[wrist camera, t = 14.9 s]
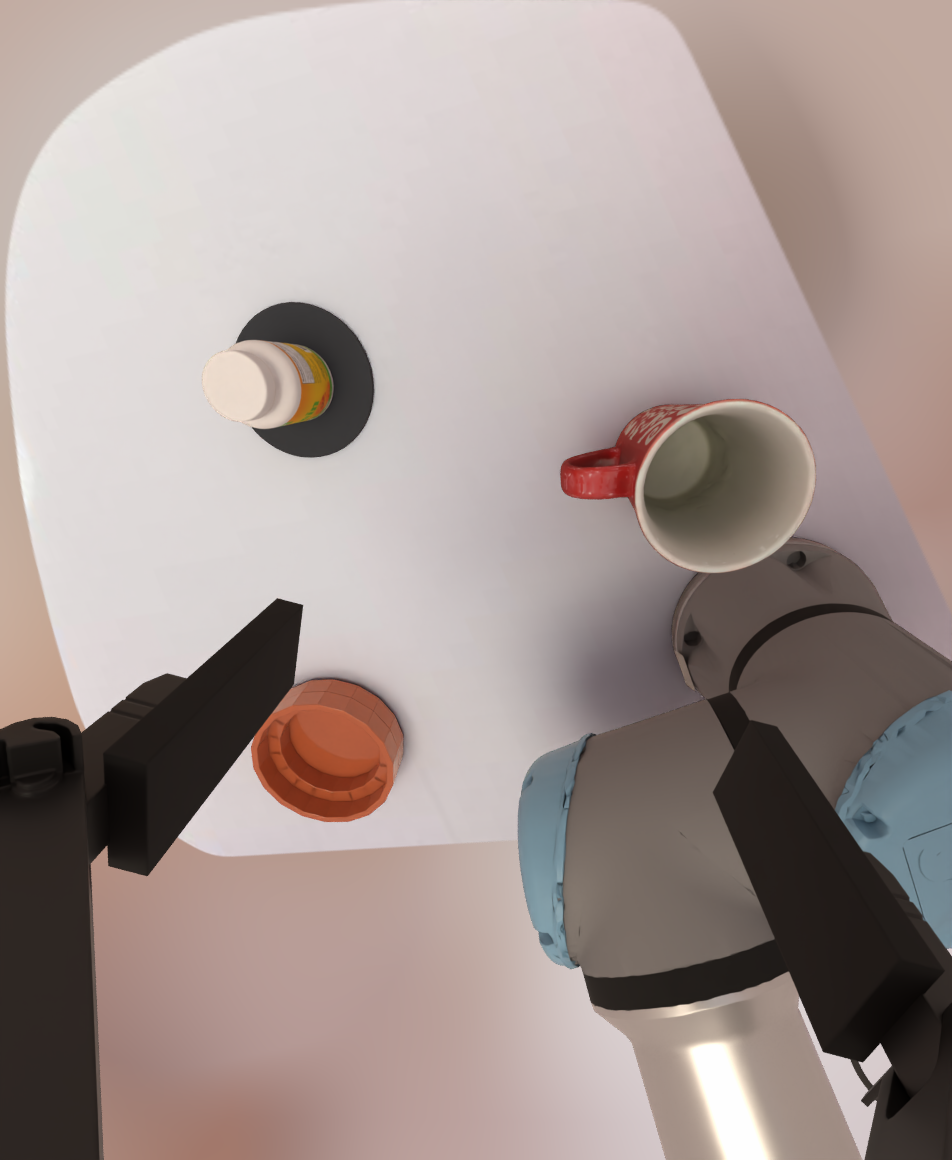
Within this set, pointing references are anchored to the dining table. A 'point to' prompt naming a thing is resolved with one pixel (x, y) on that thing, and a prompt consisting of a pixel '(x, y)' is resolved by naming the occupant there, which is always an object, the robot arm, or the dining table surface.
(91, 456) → the dining table surface
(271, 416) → the supplement bottle
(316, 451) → the coaster
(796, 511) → the mug
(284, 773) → the bowl
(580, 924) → the robot arm
